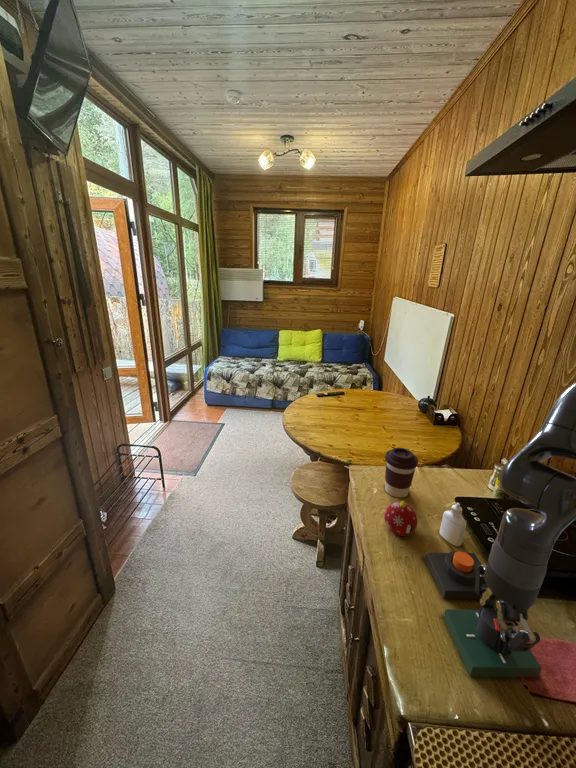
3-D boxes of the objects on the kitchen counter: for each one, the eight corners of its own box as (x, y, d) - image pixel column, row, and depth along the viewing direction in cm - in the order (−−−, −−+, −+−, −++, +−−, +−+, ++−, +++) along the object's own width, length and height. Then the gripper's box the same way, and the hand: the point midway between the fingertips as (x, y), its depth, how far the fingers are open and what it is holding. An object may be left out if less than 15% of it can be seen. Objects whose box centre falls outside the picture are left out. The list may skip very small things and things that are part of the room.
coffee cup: (375, 491, 103) (380, 452, 98) (389, 479, 109) (395, 441, 105) (403, 506, 96) (410, 465, 91) (417, 492, 103) (424, 453, 98)
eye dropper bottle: (447, 548, 81) (455, 511, 77) (437, 531, 86) (444, 496, 83) (463, 548, 81) (472, 511, 77) (452, 532, 86) (460, 496, 83)
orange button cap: (466, 558, 73) (467, 551, 72) (475, 573, 69) (477, 566, 68) (449, 557, 73) (450, 551, 72) (458, 573, 69) (459, 566, 68)
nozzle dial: (474, 620, 61) (479, 602, 59) (500, 629, 59) (506, 611, 58) (478, 643, 57) (484, 625, 55) (506, 653, 55) (512, 635, 54)
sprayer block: (471, 562, 77) (475, 546, 75) (497, 601, 68) (502, 584, 66) (424, 561, 77) (427, 545, 75) (443, 600, 67) (447, 583, 66)
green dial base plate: (500, 620, 64) (503, 609, 63) (537, 679, 54) (542, 667, 53) (442, 619, 64) (445, 608, 63) (469, 678, 54) (473, 666, 53)
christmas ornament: (405, 518, 91) (410, 490, 88) (421, 541, 83) (426, 511, 80) (378, 520, 90) (381, 492, 87) (390, 544, 82) (395, 513, 79)
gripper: (573, 610, 46) (541, 682, 51) (508, 534, 59) (489, 598, 65) (522, 610, 46) (496, 682, 51) (469, 534, 59) (453, 598, 65)
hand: (492, 635), depth 58 cm, fingers closed on green dial base plate, 4 cm apart
